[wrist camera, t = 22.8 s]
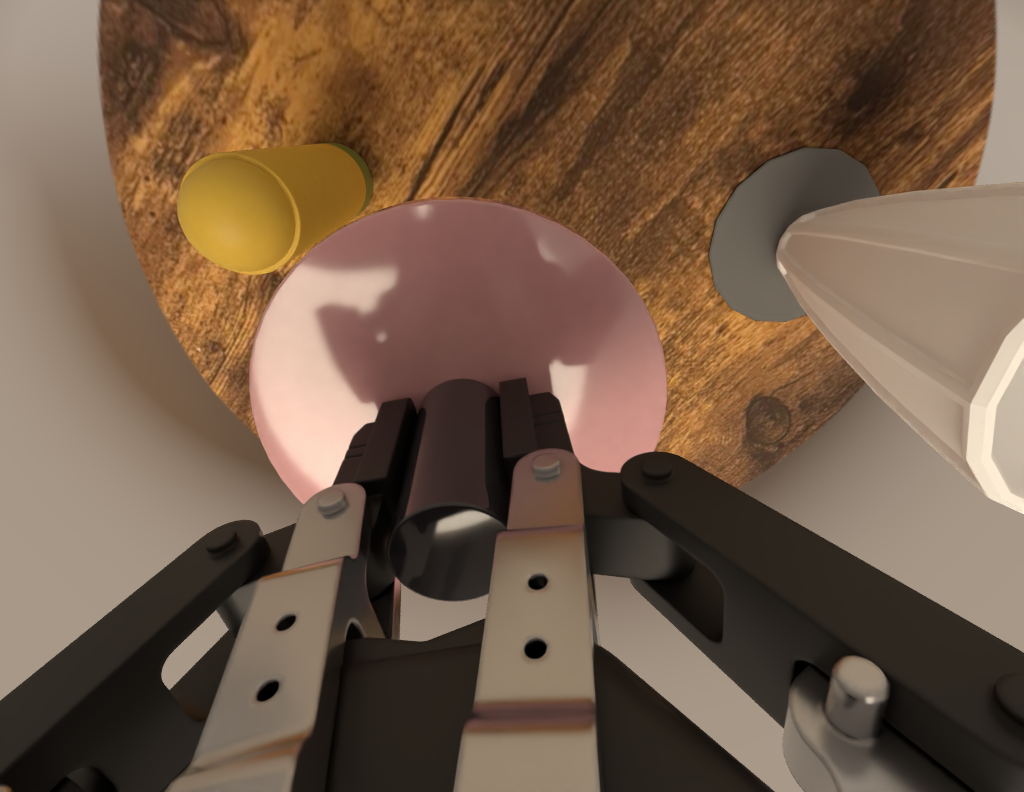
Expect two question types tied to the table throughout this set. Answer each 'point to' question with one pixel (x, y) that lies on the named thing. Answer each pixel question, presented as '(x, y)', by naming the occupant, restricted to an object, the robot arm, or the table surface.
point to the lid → (452, 366)
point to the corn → (270, 202)
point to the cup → (895, 296)
